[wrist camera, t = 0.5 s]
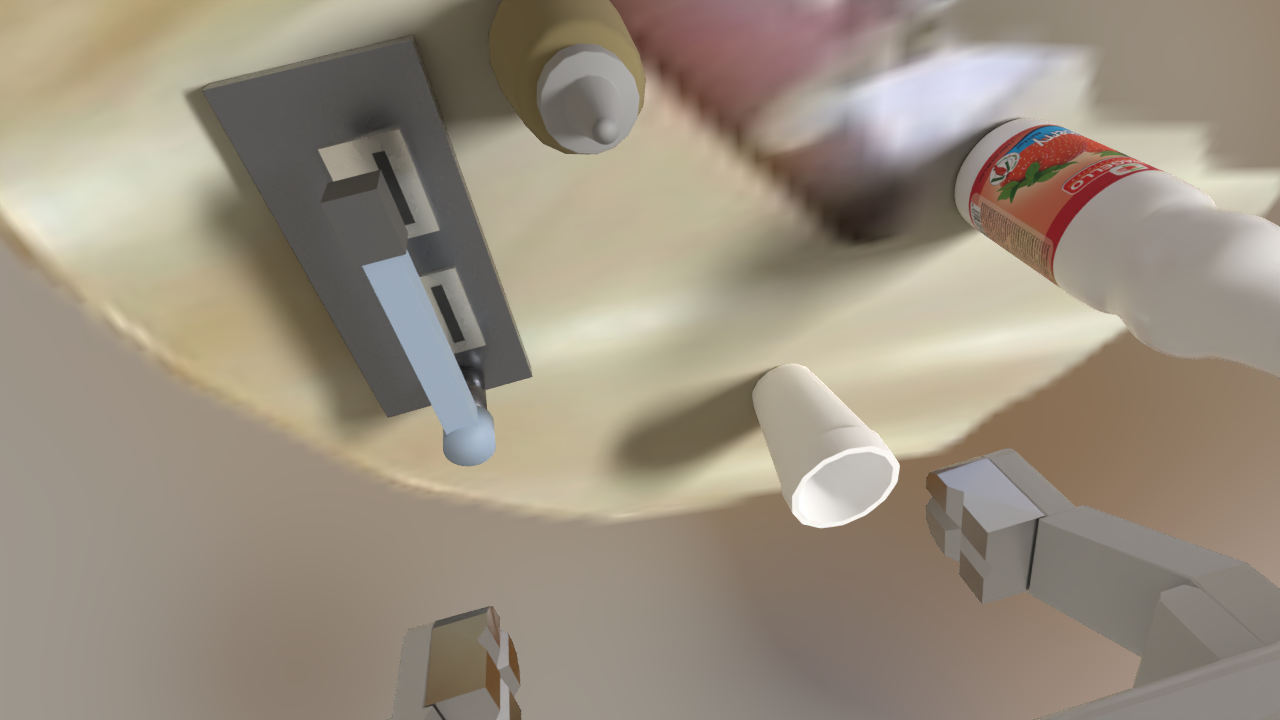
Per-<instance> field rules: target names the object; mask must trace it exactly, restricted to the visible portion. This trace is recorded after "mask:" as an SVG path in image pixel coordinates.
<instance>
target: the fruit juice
mask: <svg viewBox="0 0 1280 720" xmlns="http://www.w3.org/2000/svg"><path fill="white" fill-rule="evenodd" d="M955 202H956V206H957V208H958V211H959V212H960V214H961V216H962V217H963V218H964V219H965V220H966V221H967V222H968V223H969V224H970V225H971V226H973V227H974V228H975V229H977V230H978V231H980V232H981V233H983V234H984V235H985V236H987V237H988V238H990V239H991V240H993V241H994V242H995V243H997V244H998V245H1000V246H1001V247H1003V248H1004V249H1005V250H1007V251H1008V252H1010V253H1011V254H1013V255H1014V256H1015V257H1017V258H1018V259H1020V260H1021V261H1023V262H1024V263H1025V264H1027V265H1028V266H1030V267H1031V268H1033V269H1034V270H1035V271H1037V272H1038V273H1040V274H1041V275H1043V276H1044V277H1046V278H1047V279H1048V280H1050V281H1051V282H1053V283H1054V284H1056V285H1057V286H1058V287H1060V288H1061V289H1062V290H1064V291H1065V292H1066V293H1068V294H1069V295H1071V296H1072V297H1074V298H1076V299H1077V300H1079V301H1080V302H1082V303H1084V304H1086V305H1087V306H1089V307H1091V308H1093V309H1096V310H1098V311H1101V312H1104V313H1108V314H1114V315H1117V316H1119V317H1120V319H1121V320H1122V321H1123V322H1124V324H1125V325H1126V326H1127V328H1128V329H1129V330H1130V331H1131V333H1132V334H1133V335H1134V336H1135V337H1136V338H1137V339H1139V340H1140V341H1141V342H1142V343H1144V344H1146V345H1147V346H1149V347H1151V348H1153V349H1154V350H1156V351H1158V352H1160V353H1163V354H1166V355H1169V356H1173V357H1177V358H1184V359H1212V358H1213V359H1214V358H1215V359H1222V360H1226V361H1231V362H1234V363H1237V364H1241V365H1245V366H1248V367H1250V368H1254V369H1257V370H1260V371H1262V372H1265V373H1267V374H1270V375H1272V376H1274V377H1277V378H1279V379H1280V227H1279V226H1277V225H1275V224H1273V223H1272V222H1270V221H1268V220H1266V219H1264V218H1262V217H1259V216H1255V215H1252V214H1247V213H1242V212H1236V211H1229V210H1222V209H1219V208H1218V207H1217V206H1216V204H1215V203H1214V202H1213V200H1212V199H1211V198H1210V197H1209V196H1208V195H1207V194H1205V193H1204V192H1203V191H1201V190H1200V189H1198V188H1196V187H1195V186H1193V185H1191V184H1189V183H1188V182H1186V181H1184V180H1182V179H1180V178H1178V177H1176V176H1174V175H1171V174H1169V173H1166V172H1164V171H1161V170H1159V169H1157V168H1154V167H1152V166H1150V165H1147V164H1145V163H1143V162H1141V161H1138V160H1136V159H1134V158H1131V157H1129V156H1127V155H1125V154H1122V153H1120V152H1118V151H1116V150H1113V149H1111V148H1109V147H1106V146H1104V145H1102V144H1100V143H1097V142H1095V141H1093V140H1090V139H1088V138H1086V137H1084V136H1081V135H1079V134H1077V133H1075V132H1072V131H1070V130H1068V129H1065V128H1063V127H1061V126H1059V125H1056V124H1054V123H1052V122H1049V121H1046V120H1041V119H1037V118H1022V119H1017V120H1013V121H1010V122H1007V123H1005V124H1003V125H1001V126H999V127H997V128H996V129H994V130H993V131H991V132H990V133H988V134H987V135H986V136H985V137H984V138H983V139H981V140H980V141H979V142H978V143H977V144H976V146H975V147H974V148H973V149H972V150H971V152H970V153H969V154H968V156H967V157H966V159H965V161H964V162H963V164H962V166H961V168H960V171H959V173H958V176H957V179H956V184H955Z"/></svg>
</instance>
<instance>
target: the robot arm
mask: <svg viewBox="0 0 1280 720" xmlns="http://www.w3.org/2000/svg"><path fill="white" fill-rule="evenodd" d="M926 489H927V490H928V491H929V493H930V494H931V495H932V498H931V499H930V500H929V502H928V503H927V505H926V520H927V523H928V526H929V530H930V533H931V535H932V537H933V538H934V540H935V542H936V544H937V545H938V547H939V548H940V550H941V551H942V552H943V554H944V555H945V556H948V557H950V558H952V559H954V560H956V561H958V562H960V566H959V575H960V576H961V578H962V579H963V580H964V581H965V583H966V584H967V585H968V587H969V588H970V589H971V591H972V592H973V593H974V594H975V596H976V597H977V598H978V600H979V601H980V602H981V604H984V603H987V602H991V601H995V600H998V599H1002V598H1005V597H1009V596H1012V595H1016V594H1020V593H1023V592H1027V591H1029V594H1030V595H1032V596H1034V597H1036V598H1037V599H1039V600H1041V601H1043V602H1044V603H1046V604H1048V605H1050V606H1052V607H1053V608H1055V609H1057V610H1059V611H1060V612H1062V613H1064V614H1066V615H1067V616H1069V617H1071V618H1073V619H1074V620H1077V621H1078V622H1080V623H1082V624H1083V625H1085V626H1087V627H1089V628H1090V629H1092V630H1094V631H1096V632H1097V633H1099V634H1101V635H1103V636H1105V637H1106V638H1108V639H1110V640H1112V641H1113V642H1115V643H1117V644H1119V645H1120V646H1122V647H1124V648H1126V649H1128V650H1130V651H1131V652H1133V653H1135V654H1136V655H1138V656H1140V657H1141V660H1140V663H1139V666H1138V670H1137V673H1136V676H1135V680H1134V684H1133V688H1132V689H1128V690H1125V691H1122V692H1119V693H1116V694H1112V695H1109V696H1106V697H1103V698H1100V699H1097V700H1094V701H1091V702H1088V703H1084V704H1081V705H1078V706H1075V707H1072V708H1069V709H1066V710H1063V711H1059V712H1056V713H1053V714H1050V715H1047V716H1044V717H1041V718H1038V719H1034V720H1280V588H1278V587H1277V586H1276V585H1275V584H1273V583H1272V582H1271V581H1270V580H1268V579H1267V578H1266V577H1265V576H1263V575H1262V574H1261V573H1260V572H1258V571H1257V570H1256V569H1255V568H1253V567H1252V566H1251V565H1250V564H1248V563H1246V562H1243V561H1241V560H1238V559H1235V558H1232V557H1229V556H1226V555H1223V554H1221V553H1218V552H1215V551H1212V550H1210V549H1207V548H1204V547H1201V546H1198V545H1195V544H1192V543H1190V542H1187V541H1184V540H1181V539H1178V538H1176V537H1173V536H1170V535H1167V534H1164V533H1162V532H1159V531H1156V530H1153V529H1150V528H1147V527H1145V526H1142V525H1139V524H1136V523H1133V522H1130V521H1127V520H1125V519H1122V518H1119V517H1116V516H1113V515H1111V514H1108V513H1105V512H1102V511H1099V510H1097V509H1093V508H1091V507H1088V506H1085V505H1083V506H1080V507H1075V506H1074V505H1073V504H1072V503H1071V502H1070V501H1069V500H1068V499H1066V497H1065V496H1063V495H1062V494H1061V493H1060V492H1059V491H1058V490H1057V489H1056V488H1055V487H1054V486H1052V484H1050V483H1049V482H1048V481H1047V480H1046V479H1045V478H1044V477H1043V476H1042V475H1041V474H1040V473H1039V472H1037V471H1036V470H1035V469H1034V468H1033V467H1032V466H1031V465H1030V464H1029V463H1028V462H1026V460H1024V459H1023V458H1022V457H1021V456H1020V455H1019V454H1018V453H1017V452H1016V451H1015V450H1012V449H1010V448H1006V449H1003V450H1000V451H997V452H993V453H990V454H987V455H984V456H981V457H976V458H973V459H970V460H967V461H964V462H960V463H957V464H954V465H951V466H948V467H944V468H942V469H938V470H935V471H932V472H929V474H928V476H927V477H926ZM519 687H520V670H519V664H518V658H517V653H516V650H515V647H514V644H513V641H512V639H511V638H510V636H509V634H508V633H507V632H505V631H502V630H500V617H499V615H498V613H497V612H496V610H495V608H494V607H493V606H489V607H485V608H481V609H478V610H474V611H470V612H467V613H463V614H459V615H456V616H452V617H449V618H445V619H442V620H438V621H435V622H432V623H428V624H425V625H421V626H418V627H414V628H410V629H408V630H407V632H406V634H405V636H404V638H403V644H402V651H401V659H400V666H399V672H398V679H397V686H396V693H395V700H394V706H393V713H392V718H390V719H387V720H521V709H520V707H519V705H518V704H517V702H516V700H515V698H514V696H515V694H516V693H517V691H518V689H519Z"/></svg>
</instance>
